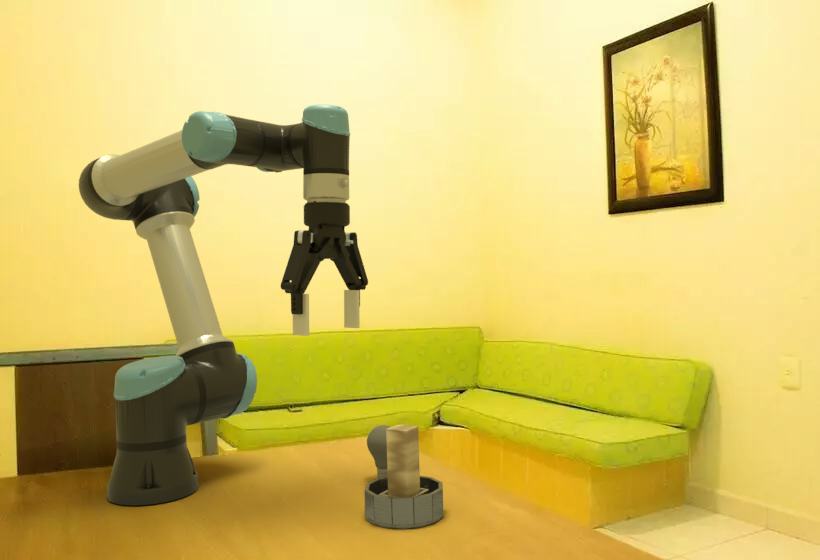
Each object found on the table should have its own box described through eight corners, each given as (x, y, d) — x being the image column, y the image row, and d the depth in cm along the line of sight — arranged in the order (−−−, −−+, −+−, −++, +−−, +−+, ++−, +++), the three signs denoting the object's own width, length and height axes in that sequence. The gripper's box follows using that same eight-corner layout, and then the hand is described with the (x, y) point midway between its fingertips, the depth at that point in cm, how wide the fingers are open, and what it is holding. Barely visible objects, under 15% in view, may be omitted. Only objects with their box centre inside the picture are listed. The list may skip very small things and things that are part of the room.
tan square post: (388, 512, 111) (386, 428, 110) (401, 506, 114) (398, 424, 114) (408, 516, 109) (406, 431, 109) (420, 509, 112) (418, 426, 112)
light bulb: (397, 485, 126) (395, 429, 126) (364, 484, 128) (362, 428, 128) (404, 476, 132) (402, 422, 132) (372, 475, 134) (371, 421, 133)
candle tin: (350, 521, 109) (349, 491, 109) (393, 498, 120) (392, 471, 119) (418, 534, 103) (417, 503, 103) (457, 509, 113) (456, 480, 113)
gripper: (294, 195, 105) (295, 340, 106) (387, 205, 126) (387, 325, 127) (256, 198, 109) (257, 337, 110) (352, 207, 130) (353, 324, 131)
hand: (327, 331), depth 118 cm, fingers open, 13 cm apart
